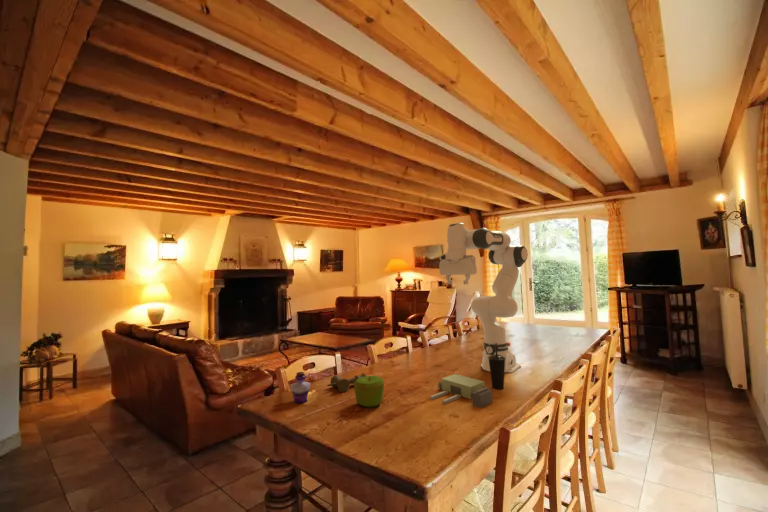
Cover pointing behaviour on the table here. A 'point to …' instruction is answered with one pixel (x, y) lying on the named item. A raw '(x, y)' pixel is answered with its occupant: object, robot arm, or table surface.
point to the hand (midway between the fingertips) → (457, 284)
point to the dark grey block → (482, 397)
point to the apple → (369, 390)
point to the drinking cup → (497, 370)
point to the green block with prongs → (458, 387)
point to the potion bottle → (300, 388)
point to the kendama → (343, 382)
